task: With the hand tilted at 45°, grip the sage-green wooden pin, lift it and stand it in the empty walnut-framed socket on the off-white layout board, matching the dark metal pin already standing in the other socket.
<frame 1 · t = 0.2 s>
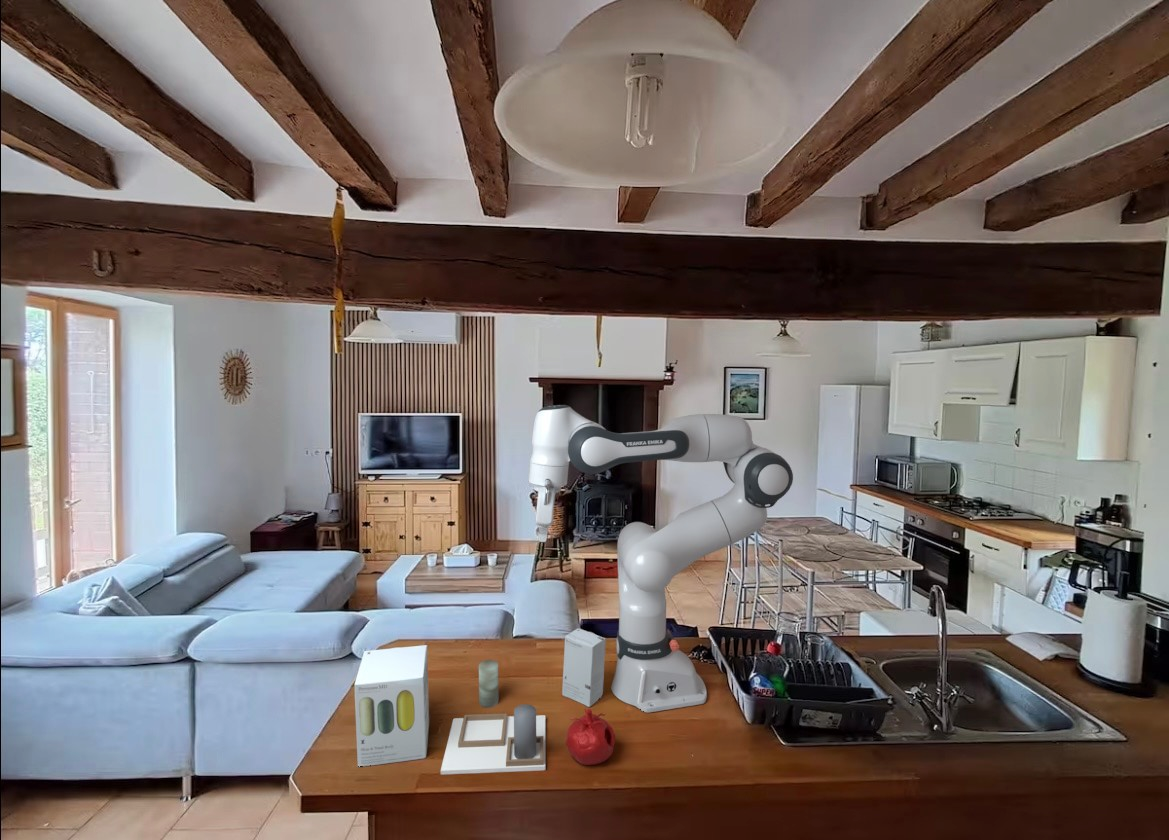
hand: (542, 534, 134), 39 cm above the worktop, tool pointing down, fingers open, 8 cm apart
sage pin: (488, 701, 135), on the worktop
supplement box: (395, 743, 121), on the worktop
skincare box: (583, 696, 138), on the worktop
layout board: (496, 744, 121), on the worktop
pomegranate: (590, 755, 118), on the worktop
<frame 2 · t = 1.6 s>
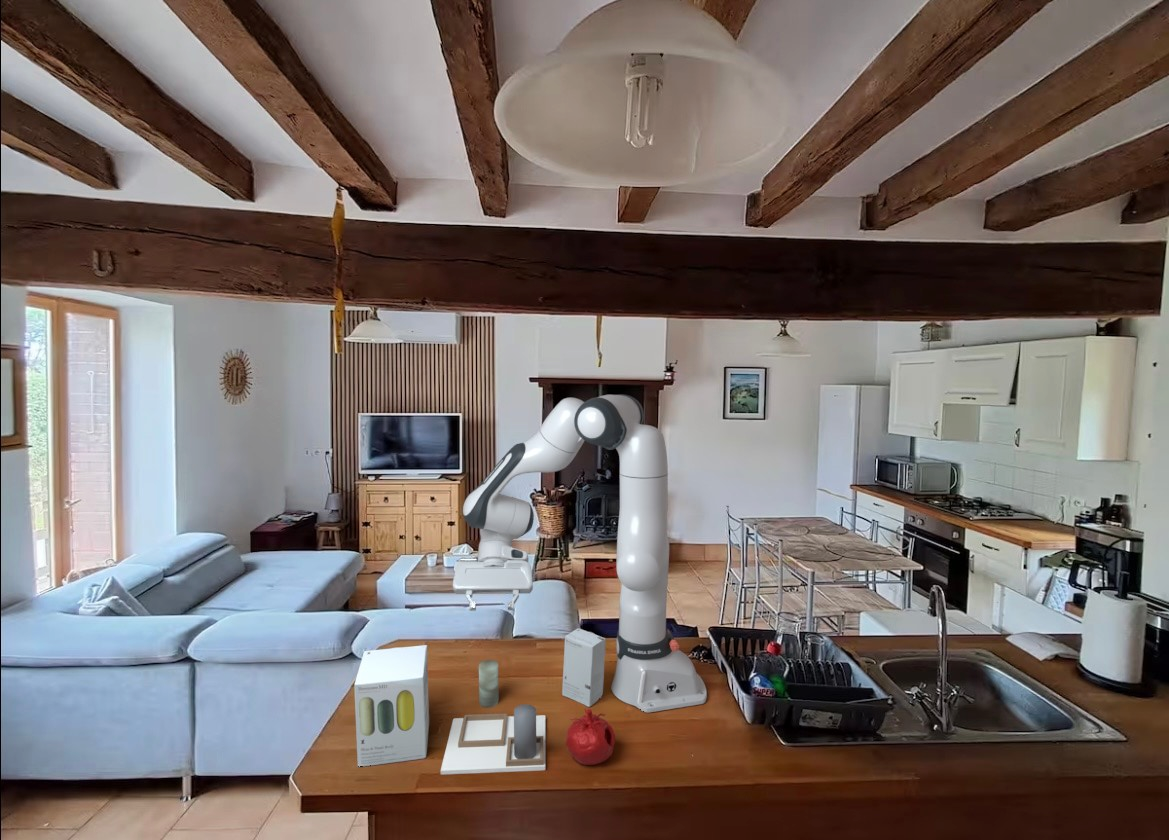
hand: (491, 609, 145), 17 cm above the worktop, tool tilted 45°, fingers open, 8 cm apart
nothing on the worktop moved.
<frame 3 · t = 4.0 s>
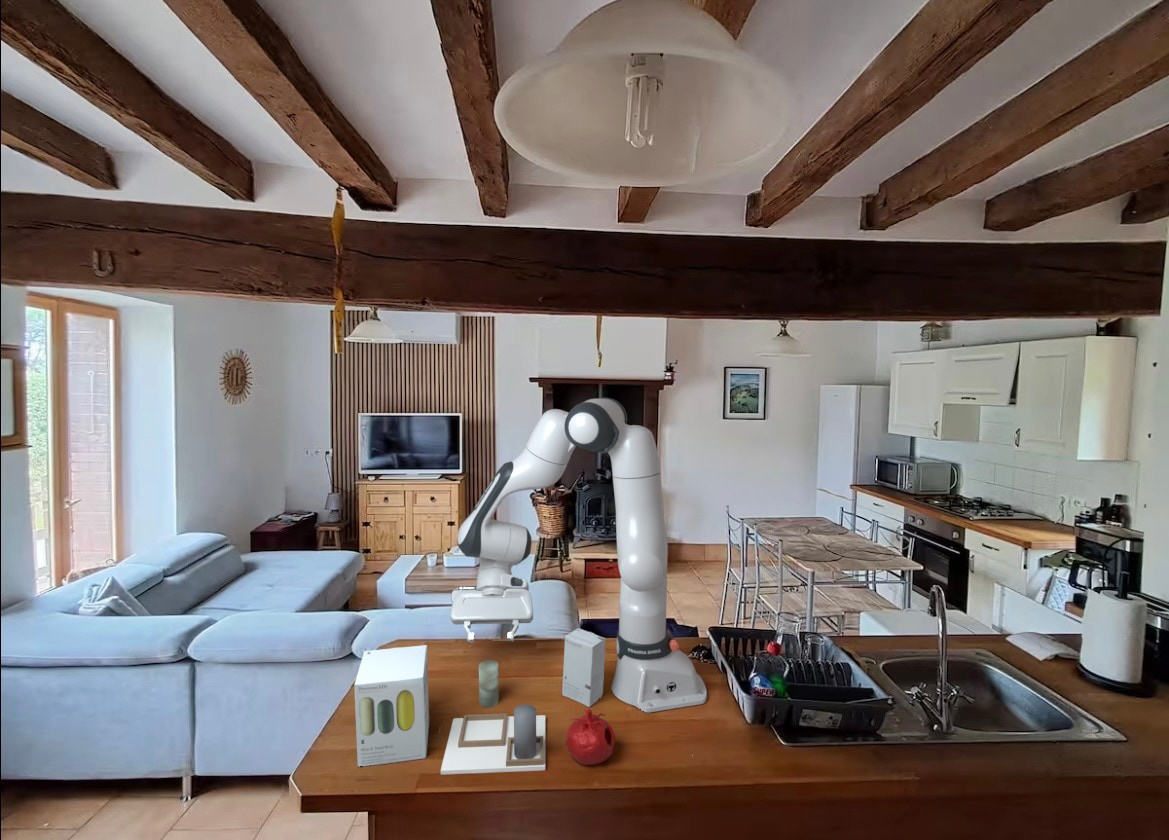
hand: (490, 641, 140), 11 cm above the worktop, tool tilted 45°, fingers open, 8 cm apart
nothing on the worktop moved.
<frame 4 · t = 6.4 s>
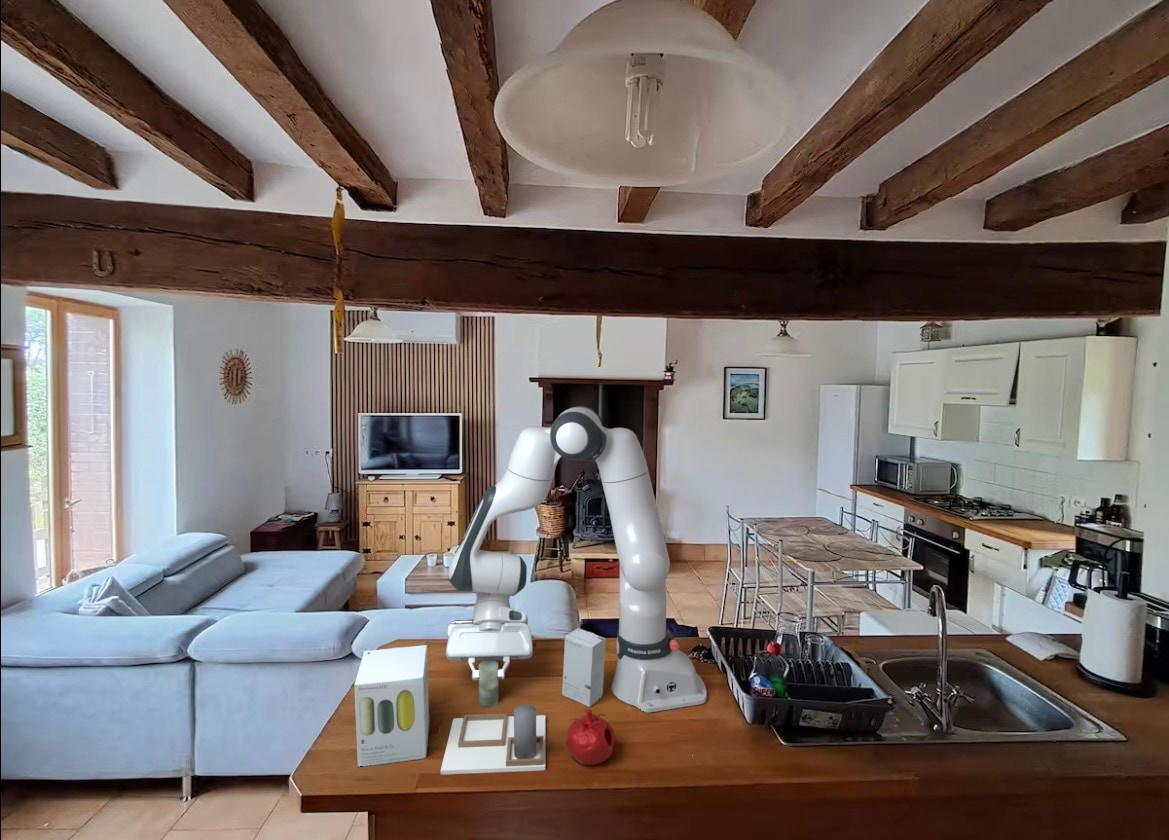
hand: (488, 679, 134), 6 cm above the worktop, tool tilted 45°, fingers closed on sage pin, 4 cm apart
sage pin: (488, 701, 135), on the worktop, touching gripper
everything else where it was.
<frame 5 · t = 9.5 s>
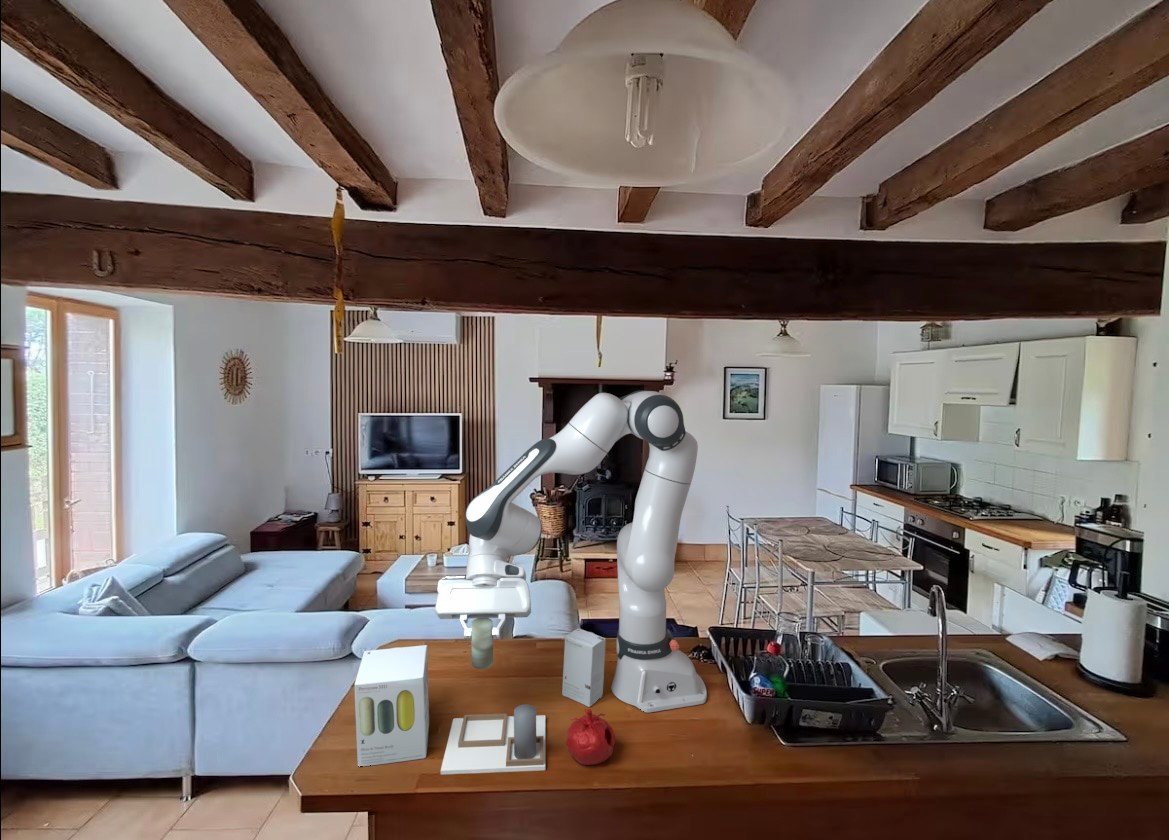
hand: (481, 638, 121), 21 cm above the worktop, tool tilted 45°, fingers closed on sage pin, 4 cm apart
sage pin: (482, 663, 123), point 15 cm above the worktop, touching gripper
everything else where it was.
when the fingers open (8 cm above the worktop, at t = 12.6 s): sage pin drops 1 cm, resting on layout board.
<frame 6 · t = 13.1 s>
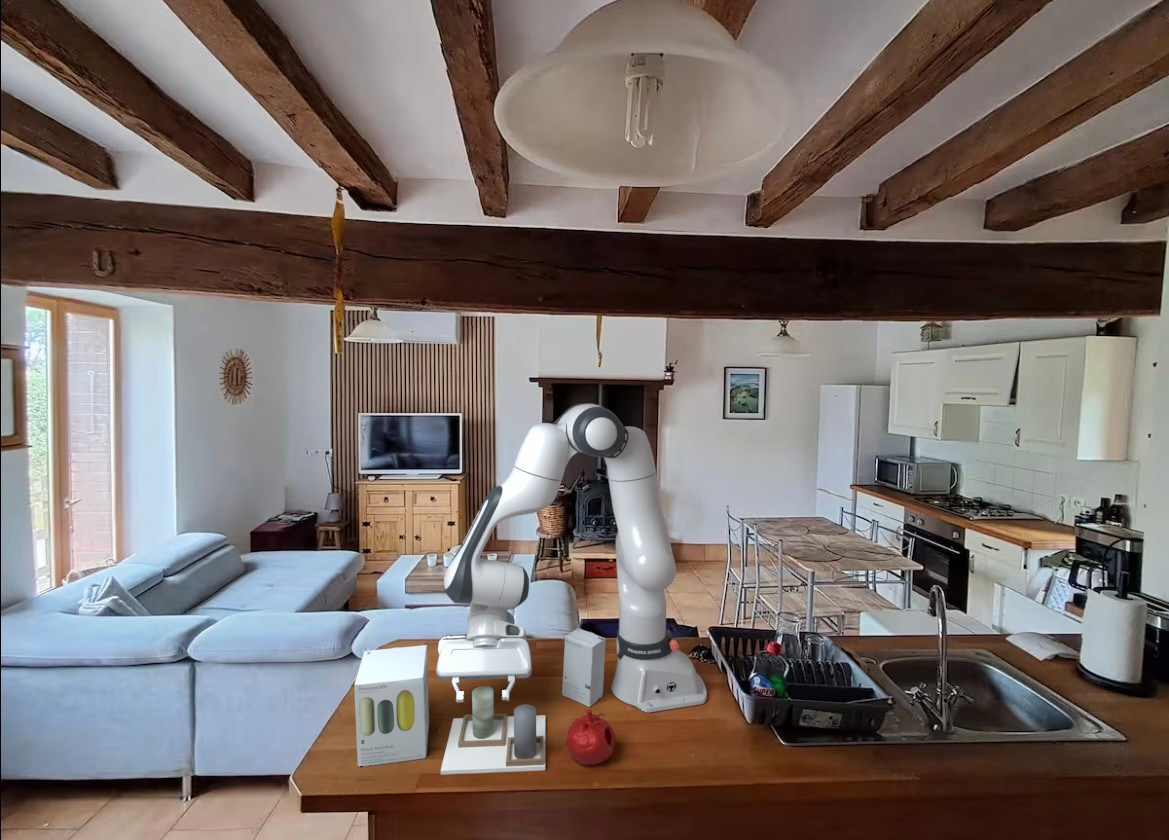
hand: (482, 701, 122), 8 cm above the worktop, tool tilted 45°, fingers open, 8 cm apart
sage pin: (483, 732, 123), point 1 cm above the worktop, touching layout board
everything else where it was.
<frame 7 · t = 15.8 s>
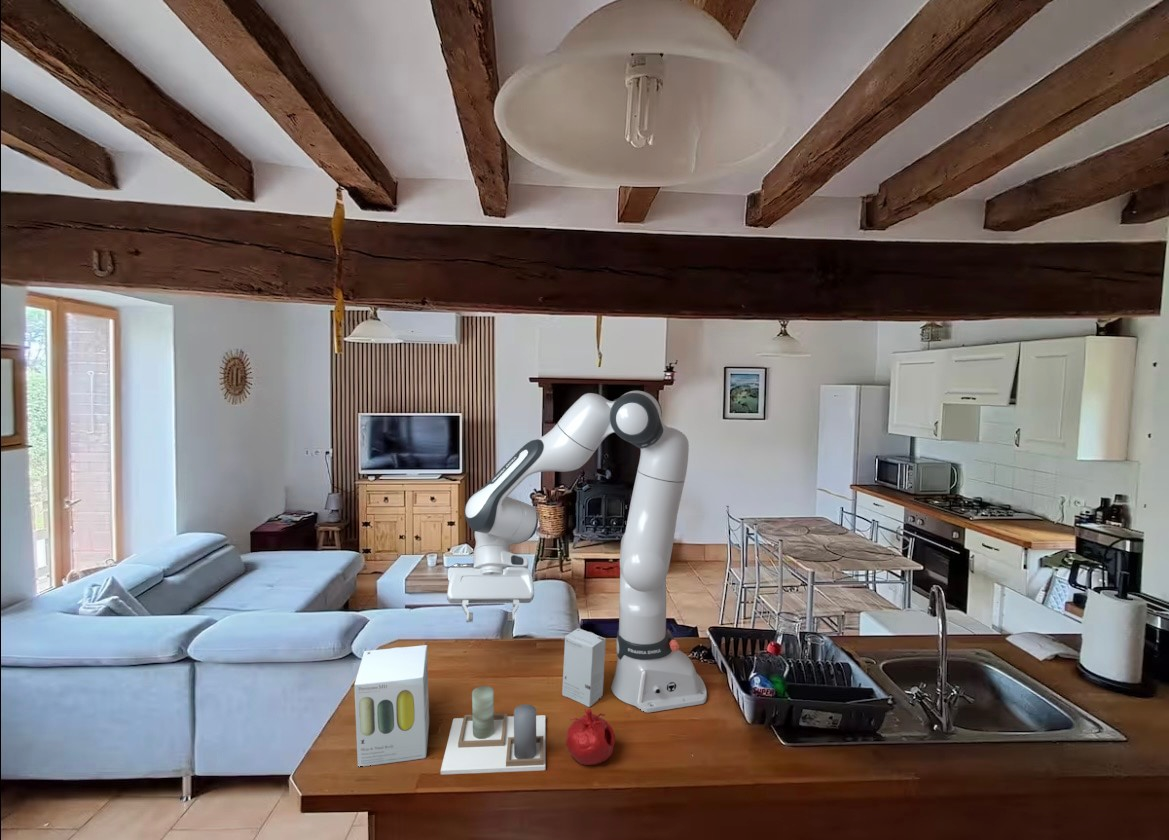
hand: (490, 621, 134), 19 cm above the worktop, tool tilted 45°, fingers open, 8 cm apart
nothing on the worktop moved.
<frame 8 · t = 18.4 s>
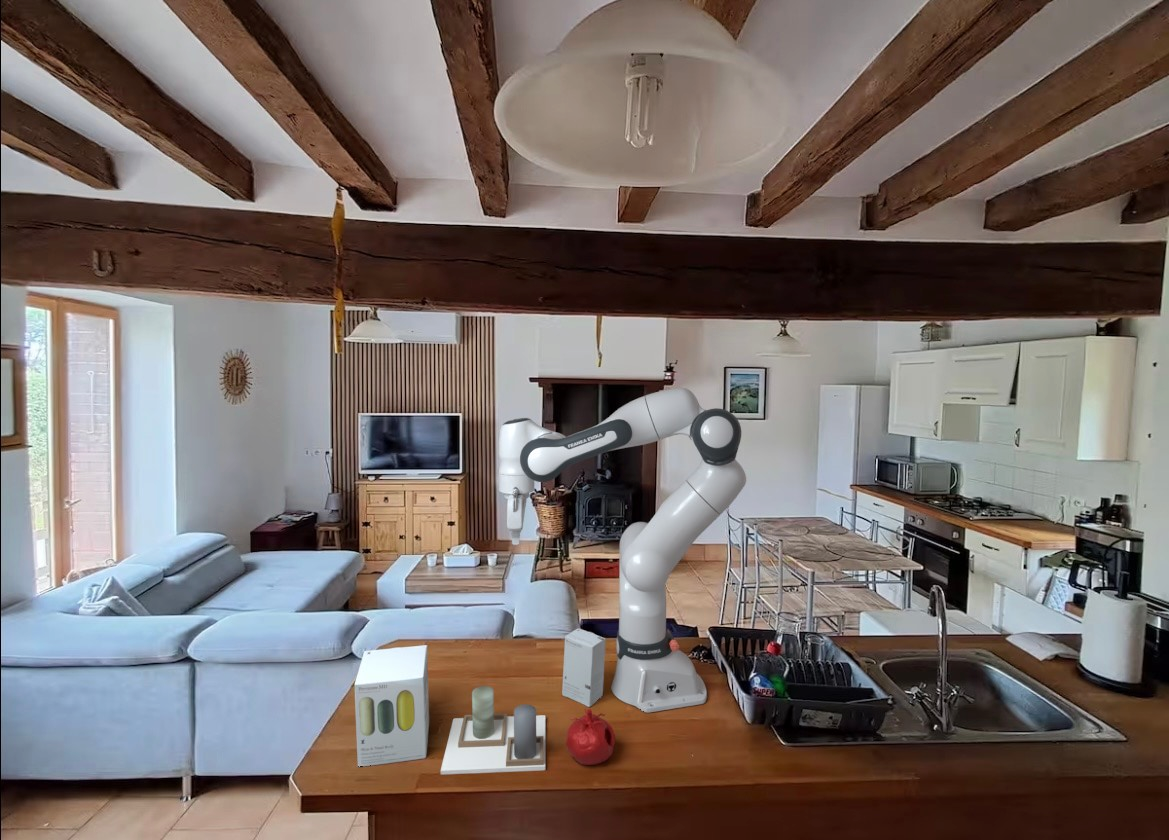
hand: (516, 537, 146), 34 cm above the worktop, tool pointing down, fingers open, 8 cm apart
nothing on the worktop moved.
at the end: sage pin 0.0 cm from the target spot on the layout board, point 0.8 cm above the layout board's base; sage pin tilted 0°; the gripper is holding nothing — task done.
